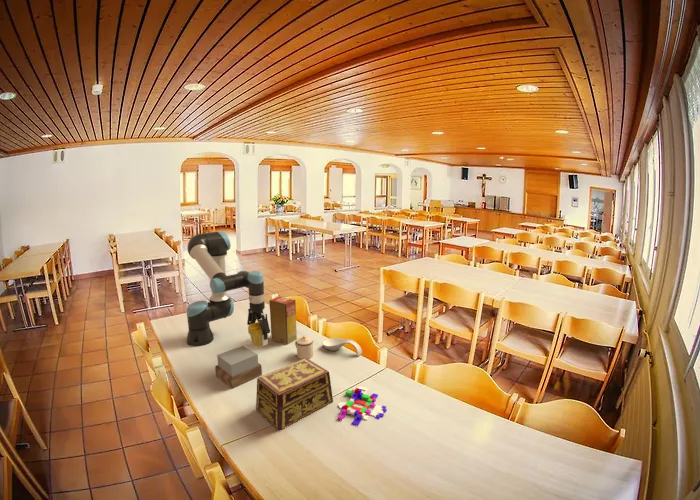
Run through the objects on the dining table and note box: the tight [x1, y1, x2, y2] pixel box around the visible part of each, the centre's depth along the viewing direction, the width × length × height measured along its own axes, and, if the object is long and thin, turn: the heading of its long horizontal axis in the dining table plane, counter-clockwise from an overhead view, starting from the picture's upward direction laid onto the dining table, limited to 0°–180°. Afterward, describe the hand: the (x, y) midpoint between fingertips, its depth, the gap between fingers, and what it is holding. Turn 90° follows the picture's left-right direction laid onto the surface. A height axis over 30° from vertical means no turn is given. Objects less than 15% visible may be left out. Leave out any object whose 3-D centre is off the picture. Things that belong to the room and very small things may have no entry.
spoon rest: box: [322, 337, 363, 357], centre depth 208 cm, size 24×12×7 cm, turn 60°
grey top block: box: [216, 345, 259, 377], centre depth 181 cm, size 14×14×6 cm
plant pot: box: [247, 321, 265, 347], centre depth 193 cm, size 10×10×10 cm
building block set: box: [337, 385, 388, 427], centre depth 158 cm, size 25×20×4 cm
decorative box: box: [255, 358, 334, 431], centre depth 158 cm, size 28×19×15 cm
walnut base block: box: [214, 362, 263, 389], centre depth 183 cm, size 16×16×6 cm
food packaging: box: [269, 295, 298, 345], centre depth 220 cm, size 13×9×25 cm
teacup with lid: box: [294, 335, 314, 360], centre depth 202 cm, size 12×9×12 cm
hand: (259, 341), depth 194 cm, fingers closed on plant pot, 10 cm apart
